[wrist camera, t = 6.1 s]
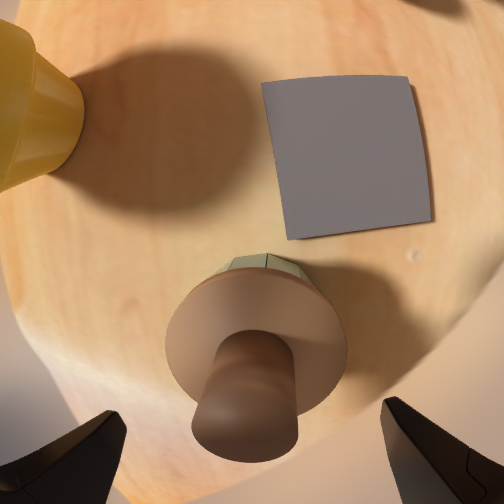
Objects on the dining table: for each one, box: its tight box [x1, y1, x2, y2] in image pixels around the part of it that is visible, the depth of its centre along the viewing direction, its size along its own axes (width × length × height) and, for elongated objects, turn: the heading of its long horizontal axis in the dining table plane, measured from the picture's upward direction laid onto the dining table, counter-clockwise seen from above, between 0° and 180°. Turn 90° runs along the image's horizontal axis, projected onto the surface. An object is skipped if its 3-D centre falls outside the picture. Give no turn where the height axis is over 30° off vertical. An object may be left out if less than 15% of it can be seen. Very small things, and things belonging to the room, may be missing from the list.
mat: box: [261, 75, 431, 240], centre depth 13 cm, size 8×8×1 cm
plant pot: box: [0, 19, 85, 193], centre depth 9 cm, size 10×10×10 cm
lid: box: [165, 267, 347, 463], centre depth 10 cm, size 8×8×5 cm
